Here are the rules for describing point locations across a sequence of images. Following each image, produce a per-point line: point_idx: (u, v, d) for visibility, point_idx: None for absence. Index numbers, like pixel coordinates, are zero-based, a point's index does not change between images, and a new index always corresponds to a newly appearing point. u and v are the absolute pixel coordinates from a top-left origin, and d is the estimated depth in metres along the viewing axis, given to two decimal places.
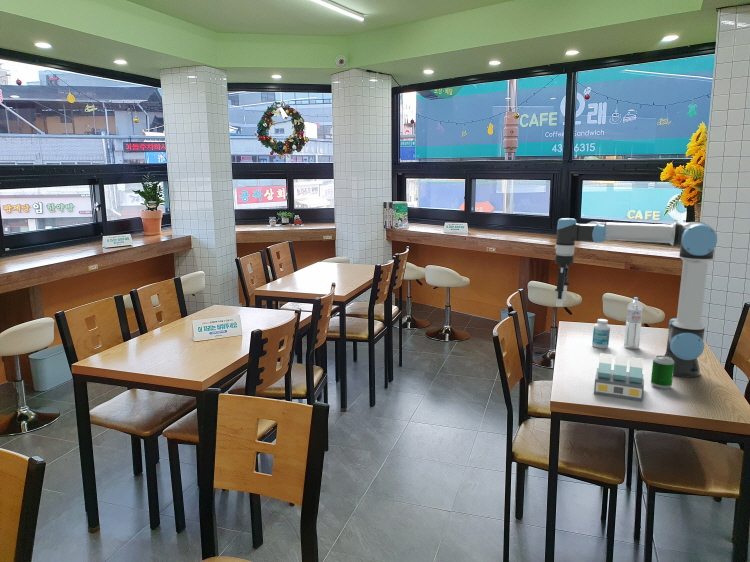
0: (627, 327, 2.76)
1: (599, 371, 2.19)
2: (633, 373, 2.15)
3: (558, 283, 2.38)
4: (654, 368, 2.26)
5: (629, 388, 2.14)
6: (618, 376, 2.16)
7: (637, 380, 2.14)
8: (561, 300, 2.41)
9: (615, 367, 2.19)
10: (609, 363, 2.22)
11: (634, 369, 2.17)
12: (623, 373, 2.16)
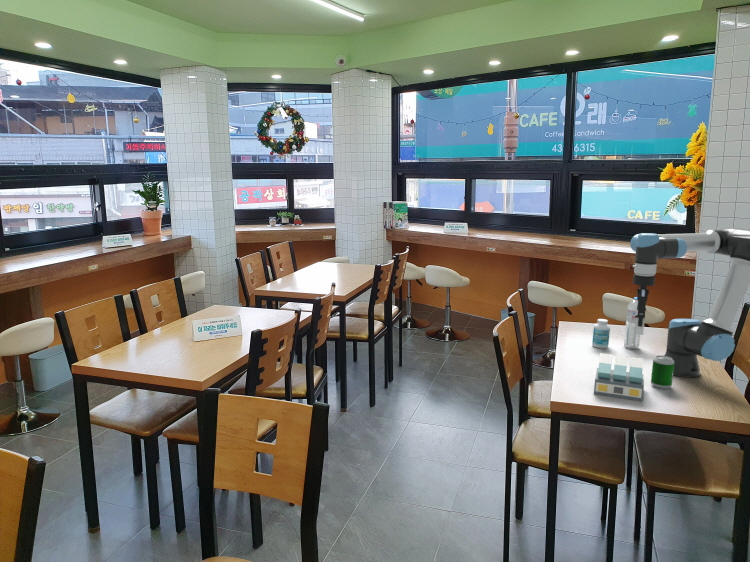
0: (627, 327, 2.76)
1: (599, 371, 2.19)
2: (633, 373, 2.15)
3: (639, 309, 2.11)
4: (654, 368, 2.26)
5: (629, 388, 2.14)
6: (618, 376, 2.16)
7: (637, 380, 2.14)
8: (642, 328, 2.14)
9: (615, 367, 2.19)
10: (609, 363, 2.22)
11: (634, 369, 2.17)
12: (623, 373, 2.16)
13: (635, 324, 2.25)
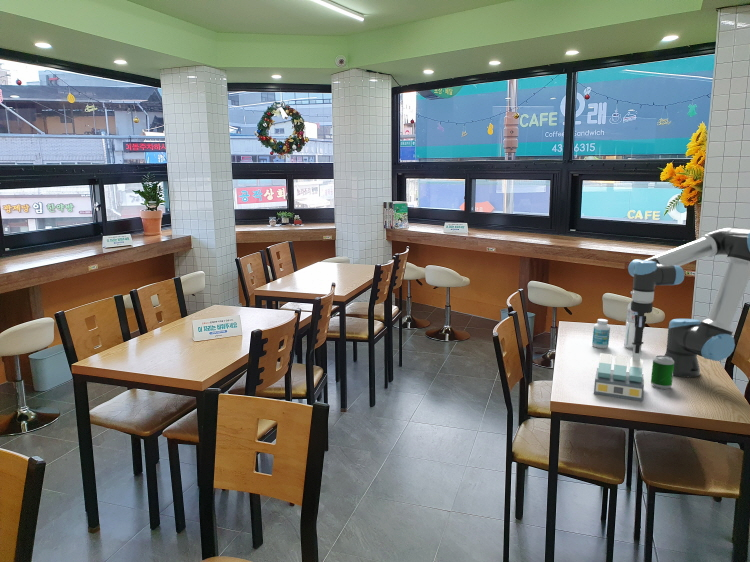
0: (627, 327, 2.76)
1: (599, 371, 2.19)
2: (633, 372, 2.15)
3: (636, 338, 2.17)
4: (654, 368, 2.26)
5: (629, 388, 2.14)
6: (618, 376, 2.16)
7: (637, 379, 2.13)
8: (638, 354, 2.21)
9: (615, 367, 2.19)
10: (609, 363, 2.22)
11: (634, 369, 2.17)
12: (623, 373, 2.16)
13: (632, 357, 2.22)
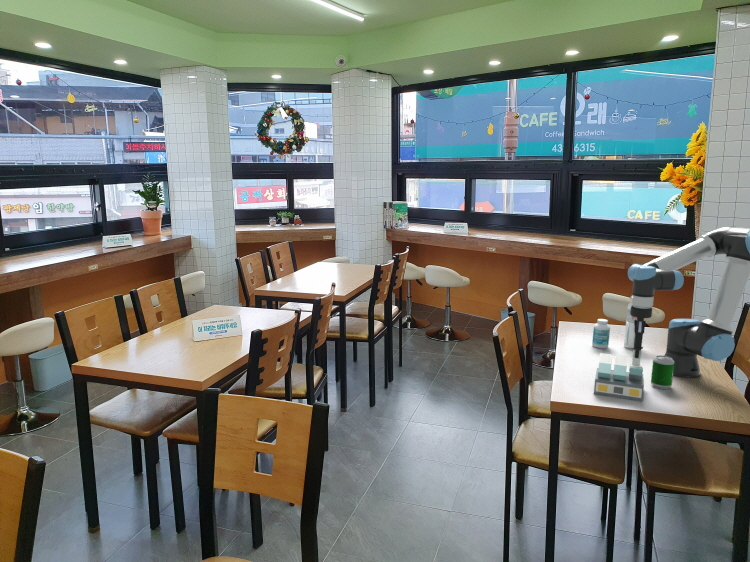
0: (627, 327, 2.76)
1: (599, 371, 2.19)
2: (633, 367, 2.15)
3: (636, 343, 2.17)
4: (654, 368, 2.26)
5: (629, 388, 2.14)
6: (618, 376, 2.16)
7: (638, 372, 2.13)
8: (638, 359, 2.21)
9: (615, 367, 2.19)
10: (609, 363, 2.22)
11: (634, 366, 2.17)
12: (623, 373, 2.16)
13: (632, 362, 2.23)
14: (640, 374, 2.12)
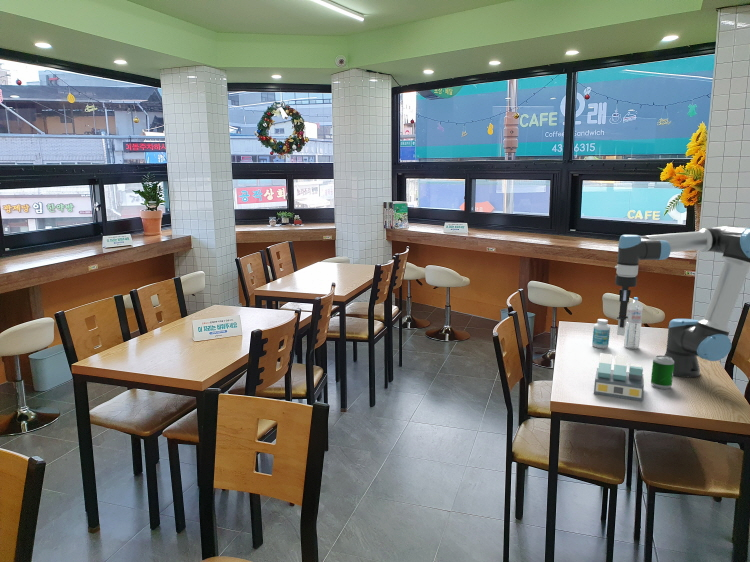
0: (627, 327, 2.76)
1: (599, 371, 2.19)
2: (633, 367, 2.15)
3: (621, 312, 2.17)
4: (654, 368, 2.26)
5: (629, 388, 2.14)
6: (618, 376, 2.16)
7: (638, 372, 2.13)
8: (623, 329, 2.21)
9: (615, 367, 2.19)
10: (609, 363, 2.22)
11: (634, 366, 2.17)
12: (623, 373, 2.16)
13: (617, 331, 2.23)
14: (640, 374, 2.12)
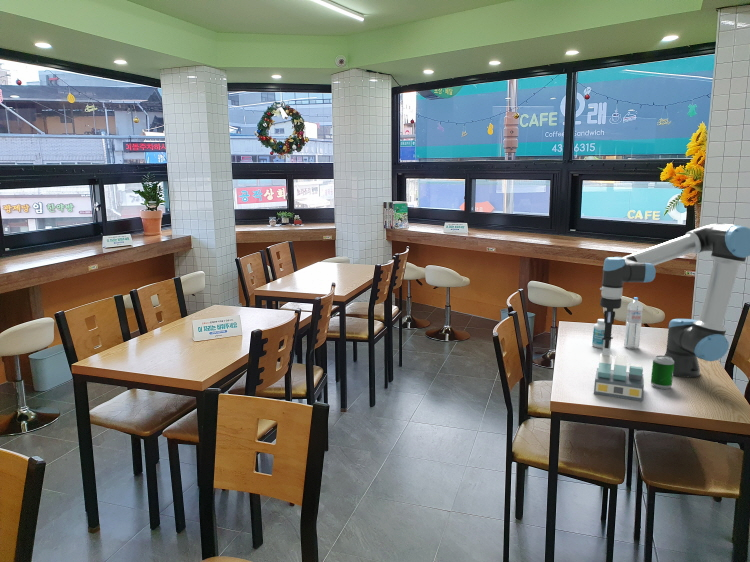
0: (627, 327, 2.76)
1: (599, 371, 2.19)
2: (633, 367, 2.15)
3: (605, 333, 2.21)
4: (654, 368, 2.26)
5: (629, 388, 2.14)
6: (618, 376, 2.16)
7: (638, 372, 2.13)
8: (608, 349, 2.25)
9: (615, 367, 2.19)
10: (609, 363, 2.22)
11: (634, 366, 2.17)
12: (623, 373, 2.16)
13: None
14: (640, 374, 2.12)
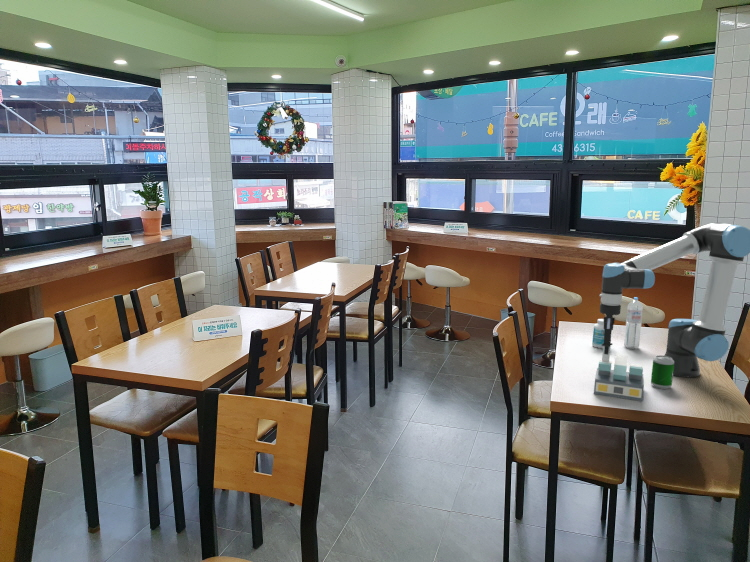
0: (627, 327, 2.76)
1: (600, 363, 2.18)
2: (633, 367, 2.15)
3: (605, 339, 2.21)
4: (654, 368, 2.26)
5: (629, 388, 2.14)
6: (618, 376, 2.16)
7: (638, 372, 2.13)
8: (608, 355, 2.25)
9: (615, 367, 2.19)
10: (609, 363, 2.22)
11: (634, 366, 2.17)
12: (623, 373, 2.16)
13: (602, 358, 2.27)
14: (640, 374, 2.12)
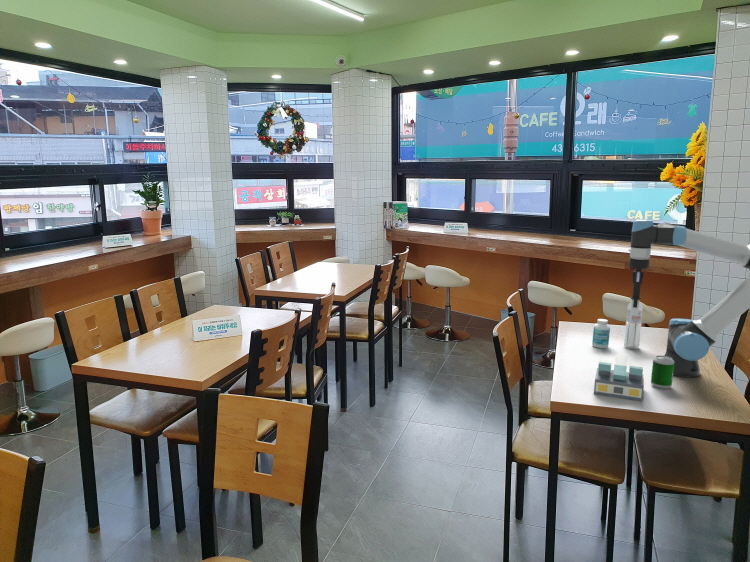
0: (627, 327, 2.76)
1: (600, 363, 2.18)
2: (633, 367, 2.15)
3: (634, 292, 2.30)
4: (654, 368, 2.26)
5: (629, 388, 2.14)
6: (618, 376, 2.16)
7: (638, 372, 2.13)
8: (636, 309, 2.33)
9: (615, 367, 2.19)
10: (609, 363, 2.22)
11: (634, 366, 2.17)
12: (623, 373, 2.16)
13: None
14: (640, 374, 2.12)
